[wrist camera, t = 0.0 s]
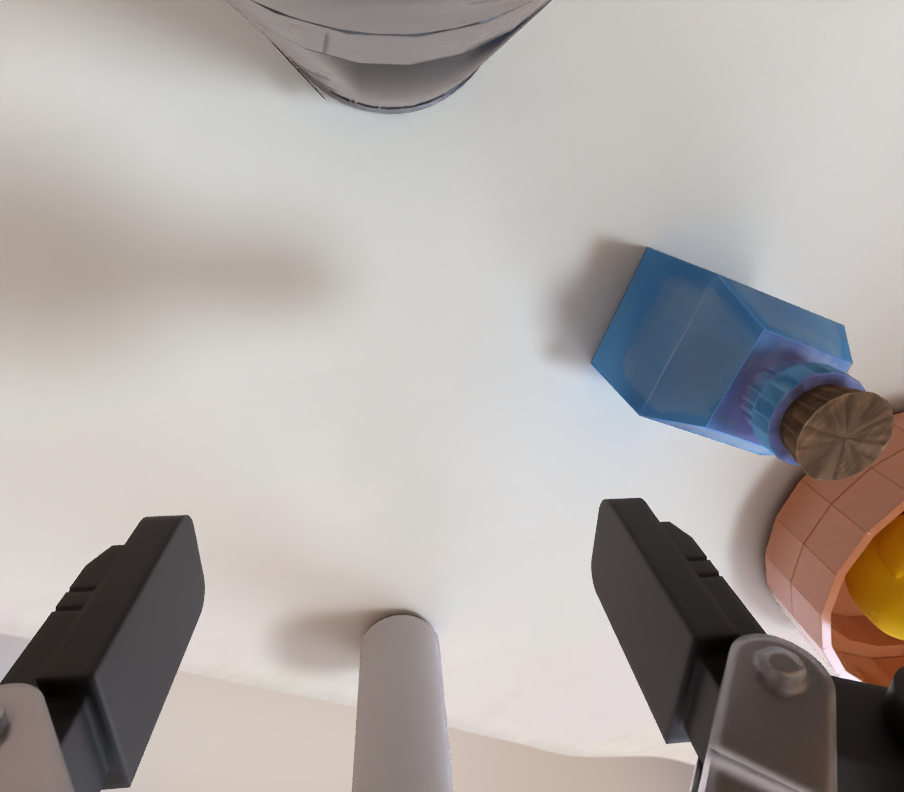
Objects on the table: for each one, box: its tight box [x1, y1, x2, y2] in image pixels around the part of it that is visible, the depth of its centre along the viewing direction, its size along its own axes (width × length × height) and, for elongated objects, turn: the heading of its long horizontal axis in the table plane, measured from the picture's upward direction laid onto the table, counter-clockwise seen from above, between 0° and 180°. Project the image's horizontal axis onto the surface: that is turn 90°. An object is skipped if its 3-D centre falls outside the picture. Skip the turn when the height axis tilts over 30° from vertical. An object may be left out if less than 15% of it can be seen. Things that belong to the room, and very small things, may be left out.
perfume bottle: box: [591, 247, 894, 481], centre depth 23 cm, size 6×6×12 cm
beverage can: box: [352, 615, 454, 792], centre depth 30 cm, size 5×5×12 cm
